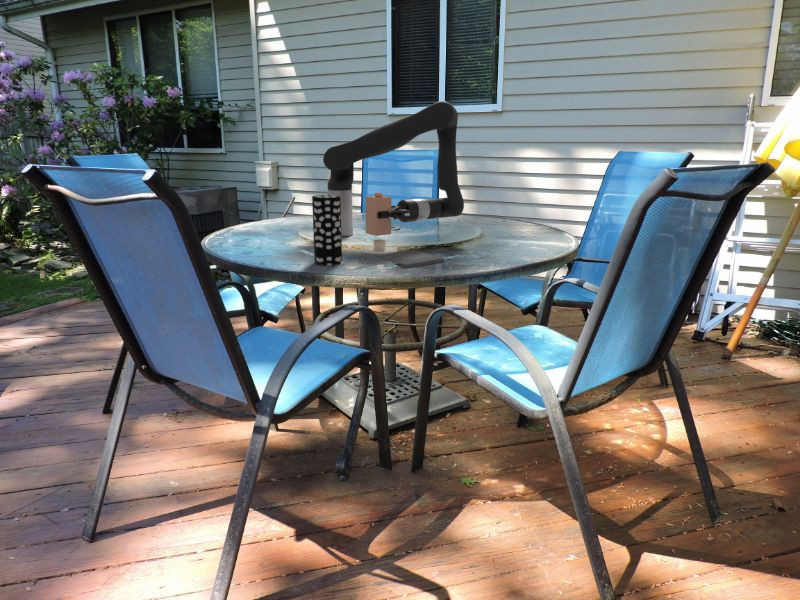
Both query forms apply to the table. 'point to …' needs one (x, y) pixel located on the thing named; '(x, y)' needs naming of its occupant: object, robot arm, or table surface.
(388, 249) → the saucer
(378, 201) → the tan capped carton
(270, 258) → the table surface
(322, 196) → the spotted tube
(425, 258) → the mat
